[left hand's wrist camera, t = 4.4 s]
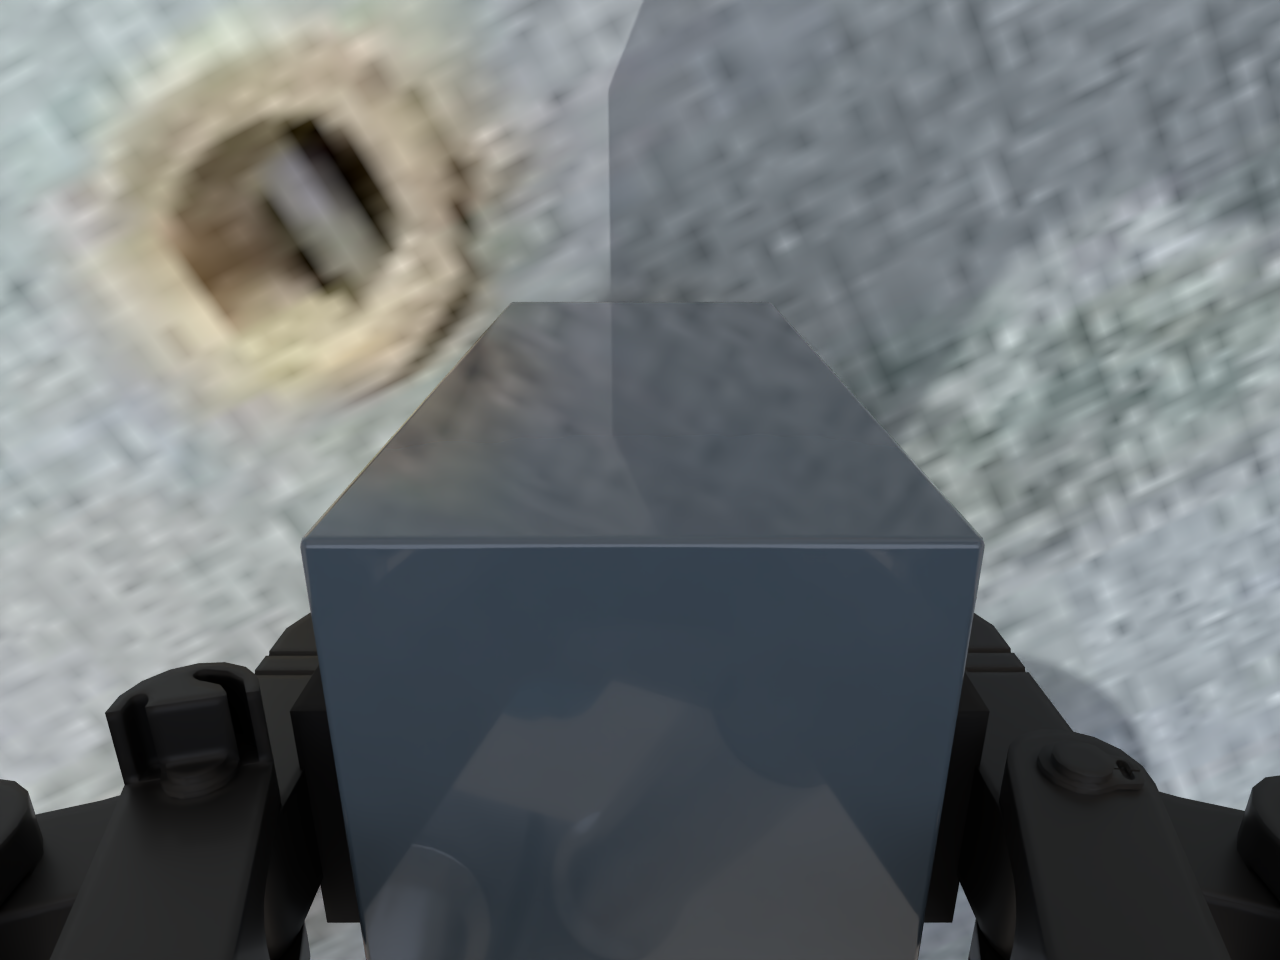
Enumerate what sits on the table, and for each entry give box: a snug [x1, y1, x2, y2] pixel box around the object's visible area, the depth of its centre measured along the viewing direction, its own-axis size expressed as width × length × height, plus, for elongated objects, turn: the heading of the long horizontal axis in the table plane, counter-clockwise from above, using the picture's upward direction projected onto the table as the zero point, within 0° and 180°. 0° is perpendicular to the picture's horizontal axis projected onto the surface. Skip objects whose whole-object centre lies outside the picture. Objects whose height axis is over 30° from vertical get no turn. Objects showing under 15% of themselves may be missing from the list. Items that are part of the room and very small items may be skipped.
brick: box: [300, 302, 985, 960], centre depth 13 cm, size 7×5×11 cm
